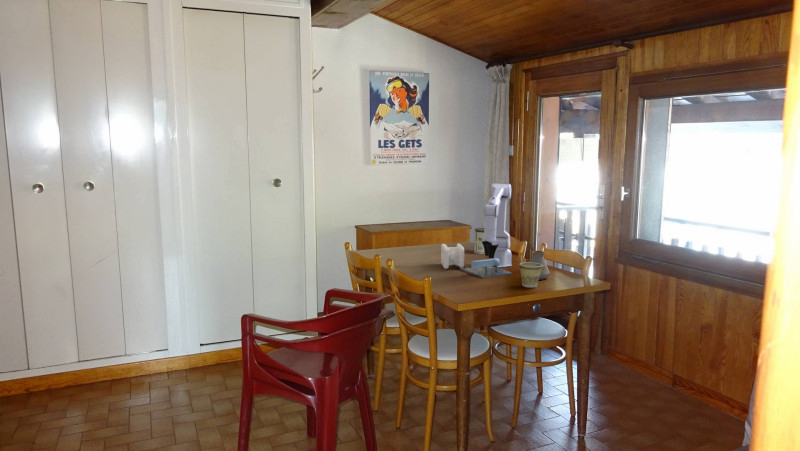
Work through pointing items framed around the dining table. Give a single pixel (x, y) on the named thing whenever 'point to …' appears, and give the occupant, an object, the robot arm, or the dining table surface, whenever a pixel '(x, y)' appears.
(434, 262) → the dining table surface
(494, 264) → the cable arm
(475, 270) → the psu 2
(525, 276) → the ceramic cup
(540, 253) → the coffee pot
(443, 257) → the cable organizer
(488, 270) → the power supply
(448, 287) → the dining table surface
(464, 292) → the dining table surface
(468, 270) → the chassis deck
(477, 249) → the coffee can
